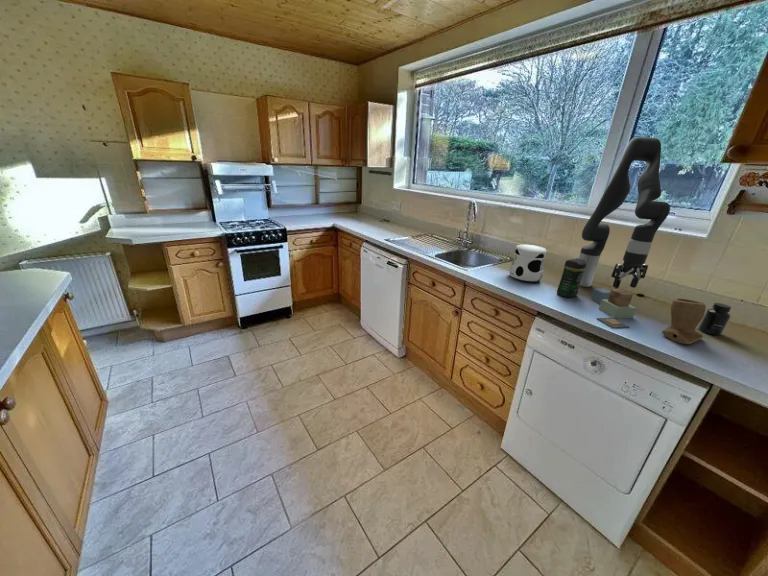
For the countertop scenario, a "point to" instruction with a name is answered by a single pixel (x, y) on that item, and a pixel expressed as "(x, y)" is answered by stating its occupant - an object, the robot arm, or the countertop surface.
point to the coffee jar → (571, 277)
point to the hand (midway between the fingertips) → (623, 287)
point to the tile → (613, 322)
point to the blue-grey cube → (600, 294)
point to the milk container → (528, 263)
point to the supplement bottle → (715, 319)
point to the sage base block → (617, 309)
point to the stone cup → (685, 320)
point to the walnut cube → (620, 297)
